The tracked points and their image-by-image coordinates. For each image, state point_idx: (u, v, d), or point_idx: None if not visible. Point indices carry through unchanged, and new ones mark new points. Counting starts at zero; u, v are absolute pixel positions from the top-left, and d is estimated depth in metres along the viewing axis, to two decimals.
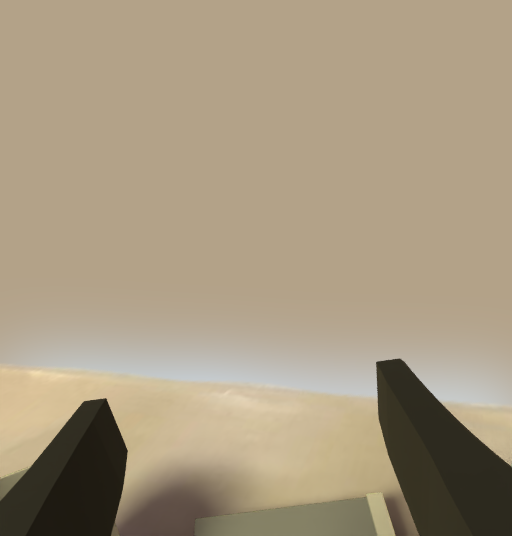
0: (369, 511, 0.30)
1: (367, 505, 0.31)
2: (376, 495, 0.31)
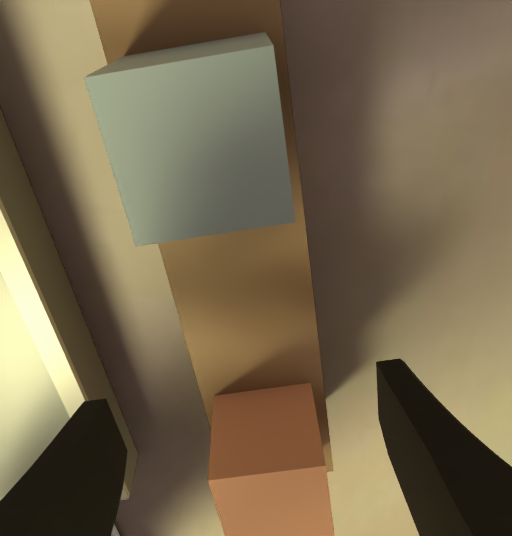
0: None
1: None
2: None
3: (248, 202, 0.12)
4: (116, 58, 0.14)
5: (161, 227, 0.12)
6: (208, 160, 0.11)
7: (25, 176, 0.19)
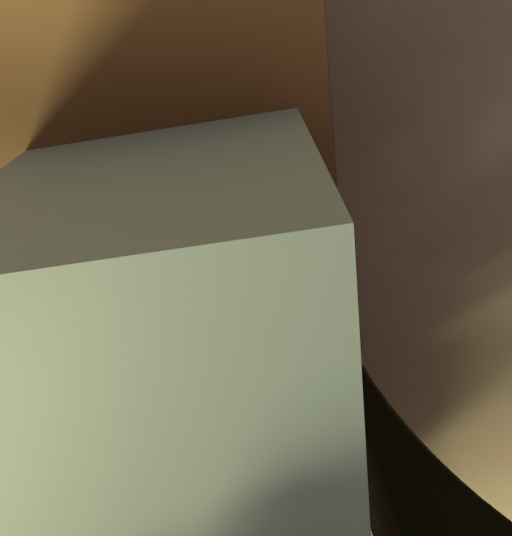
0: None
1: None
2: None
3: (269, 521, 0.05)
4: None
5: None
6: (176, 456, 0.05)
7: None
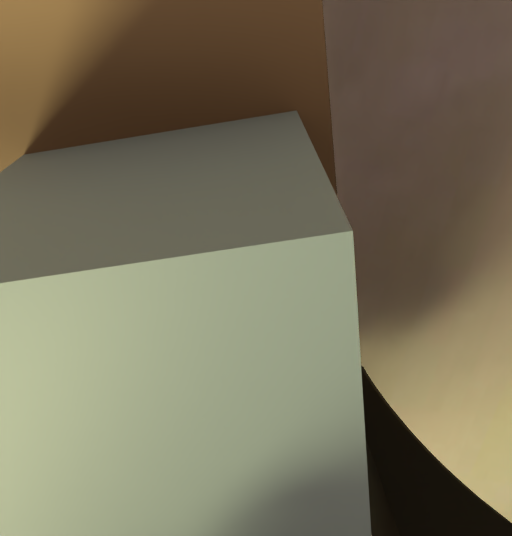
0: None
1: None
2: None
3: (269, 528, 0.05)
4: None
5: None
6: (175, 464, 0.05)
7: None
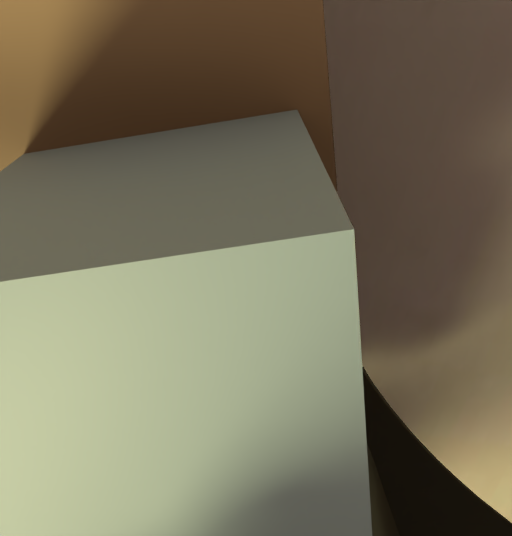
0: None
1: None
2: None
3: (270, 528, 0.05)
4: None
5: None
6: (176, 462, 0.05)
7: None
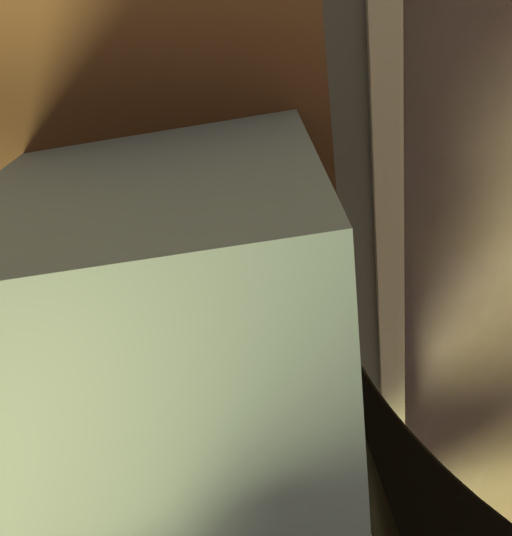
0: None
1: None
2: None
3: (269, 527, 0.05)
4: None
5: None
6: (175, 462, 0.05)
7: None
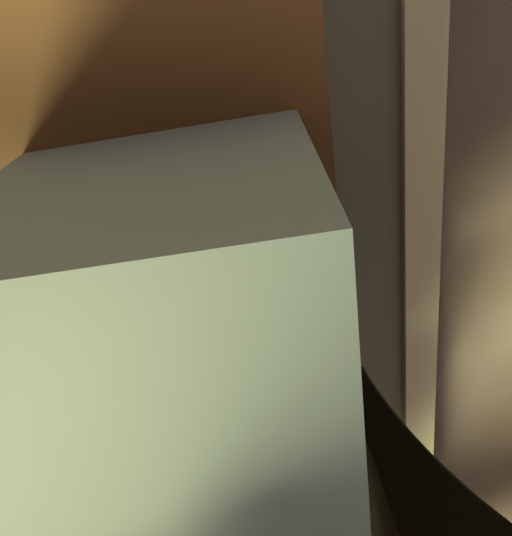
0: None
1: None
2: None
3: (268, 527, 0.05)
4: None
5: None
6: (174, 462, 0.05)
7: None
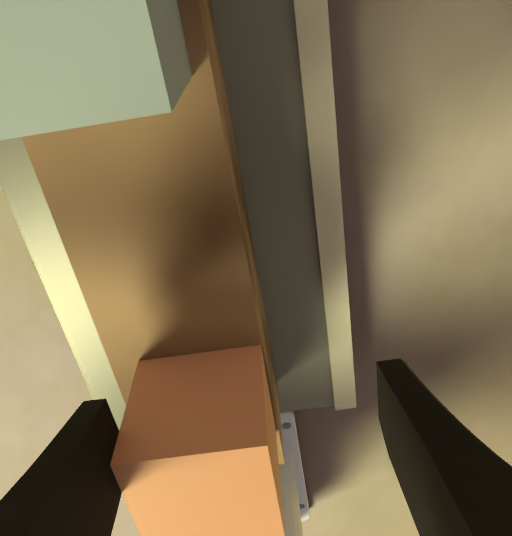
0: None
1: None
2: None
3: (97, 78, 0.08)
4: None
5: None
6: (26, 4, 0.07)
7: None
